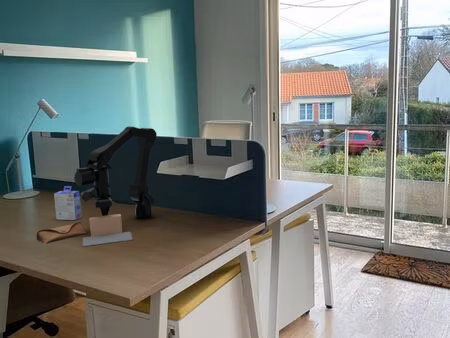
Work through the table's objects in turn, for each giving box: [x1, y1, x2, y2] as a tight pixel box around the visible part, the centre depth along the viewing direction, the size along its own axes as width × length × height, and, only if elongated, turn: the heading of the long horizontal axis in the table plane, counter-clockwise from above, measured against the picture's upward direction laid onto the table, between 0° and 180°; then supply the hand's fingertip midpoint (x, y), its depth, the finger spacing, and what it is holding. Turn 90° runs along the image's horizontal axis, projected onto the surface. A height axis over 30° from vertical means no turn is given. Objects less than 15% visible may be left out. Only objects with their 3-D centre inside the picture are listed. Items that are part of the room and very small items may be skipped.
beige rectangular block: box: [88, 213, 123, 237], centre depth 176 cm, size 12×3×7 cm, turn 107°
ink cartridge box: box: [53, 185, 83, 221], centre depth 198 cm, size 10×6×14 cm, turn 78°
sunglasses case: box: [36, 221, 89, 245], centre depth 175 cm, size 18×7×7 cm, turn 129°
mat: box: [82, 231, 133, 247], centre depth 169 cm, size 18×10×1 cm, turn 107°
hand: (104, 218), depth 182 cm, fingers closed
